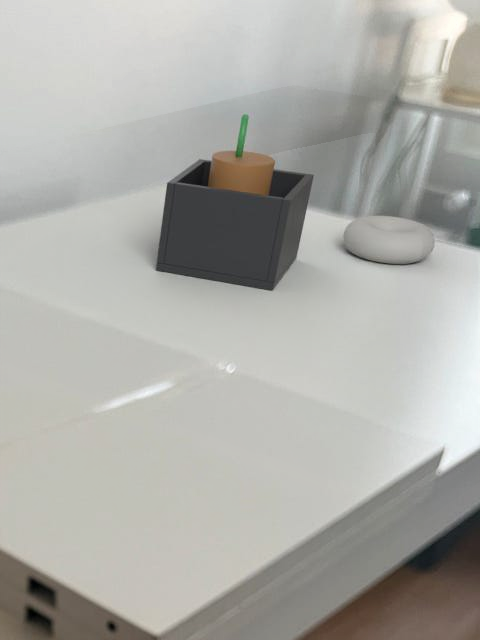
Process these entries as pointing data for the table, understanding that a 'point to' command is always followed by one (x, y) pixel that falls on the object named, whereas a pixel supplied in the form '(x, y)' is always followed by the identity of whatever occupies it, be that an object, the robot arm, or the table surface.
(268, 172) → the paper cup
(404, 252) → the donut
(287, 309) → the table surface
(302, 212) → the bin
